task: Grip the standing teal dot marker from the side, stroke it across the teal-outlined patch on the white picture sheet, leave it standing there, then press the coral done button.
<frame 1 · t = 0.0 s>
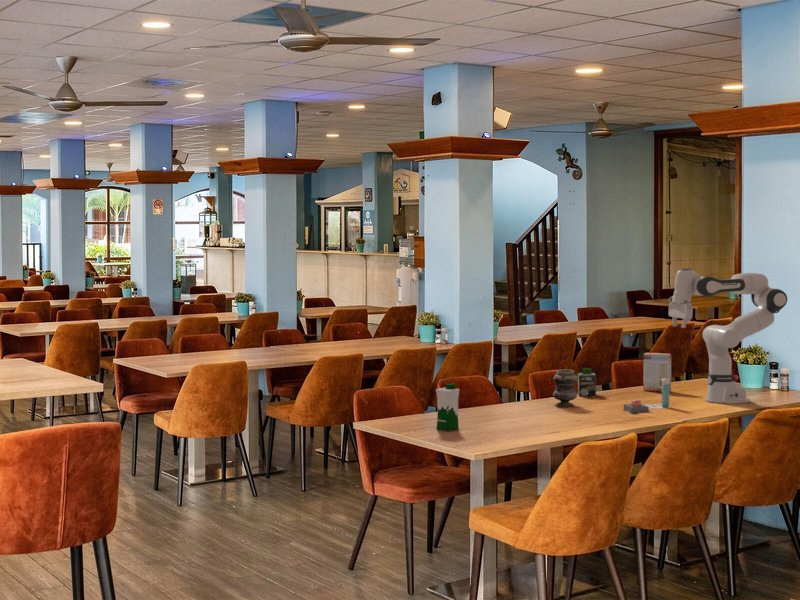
hand: (679, 327, 516), 39 cm above the table, tool pointing down, fingers open, 8 cm apart
picture board: (650, 407, 504), on the table
cracker box: (657, 391, 557), on the table
done button: (636, 404, 492), point 4 cm above the table, slide at 0.0 cm
button housing: (636, 411, 492), on the table
chalk box: (586, 395, 543), on the table
marker: (665, 407, 501), point 1 cm above the table, touching picture board
apothecary jar: (564, 406, 510), on the table
milk carton: (447, 429, 448), on the table
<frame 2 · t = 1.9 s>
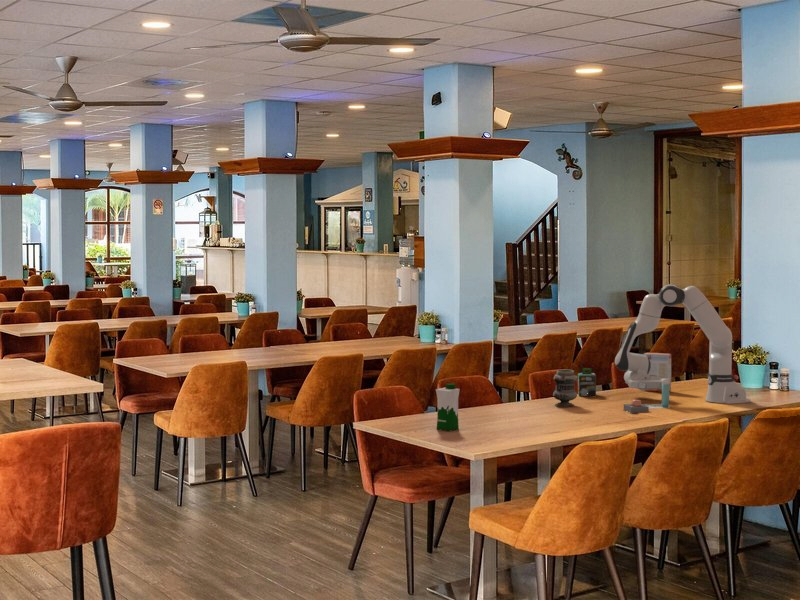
hand: (654, 386, 512), 9 cm above the table, tool horizontal, fingers open, 8 cm apart
nothing on the table moved.
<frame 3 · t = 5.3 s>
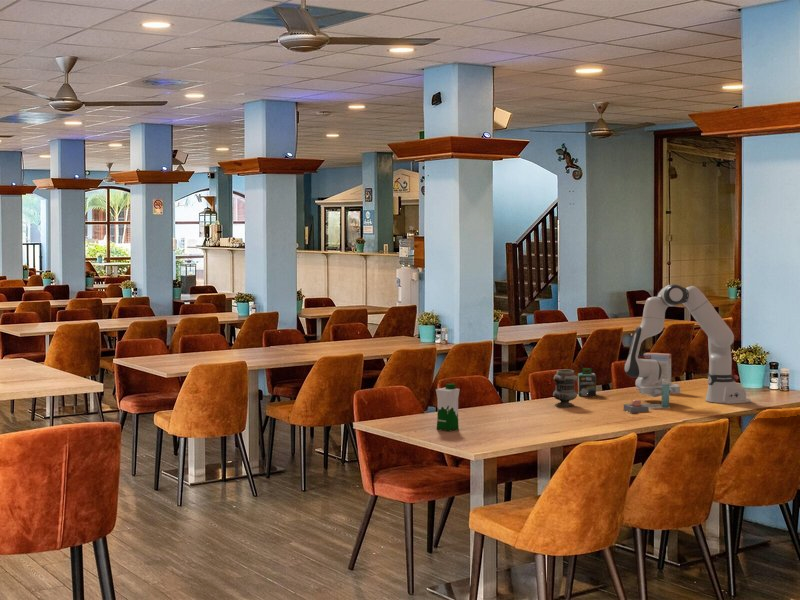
hand: (666, 391, 500), 8 cm above the table, tool horizontal, fingers closed on marker, 4 cm apart
marker: (665, 407, 501), point 1 cm above the table, touching gripper, picture board
everything else where it was.
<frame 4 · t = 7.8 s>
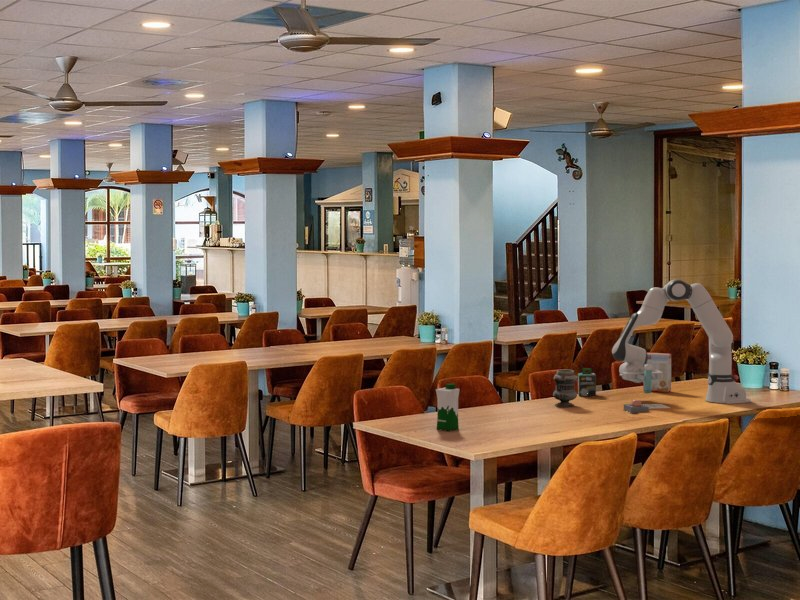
hand: (648, 377, 504), 15 cm above the table, tool horizontal, fingers closed on marker, 4 cm apart
marker: (647, 392, 505), point 7 cm above the table, touching gripper
everything else where it was.
when the fingers open (8 cm above the table, at t = 10.3 s): marker stays where it is, resting on picture board.
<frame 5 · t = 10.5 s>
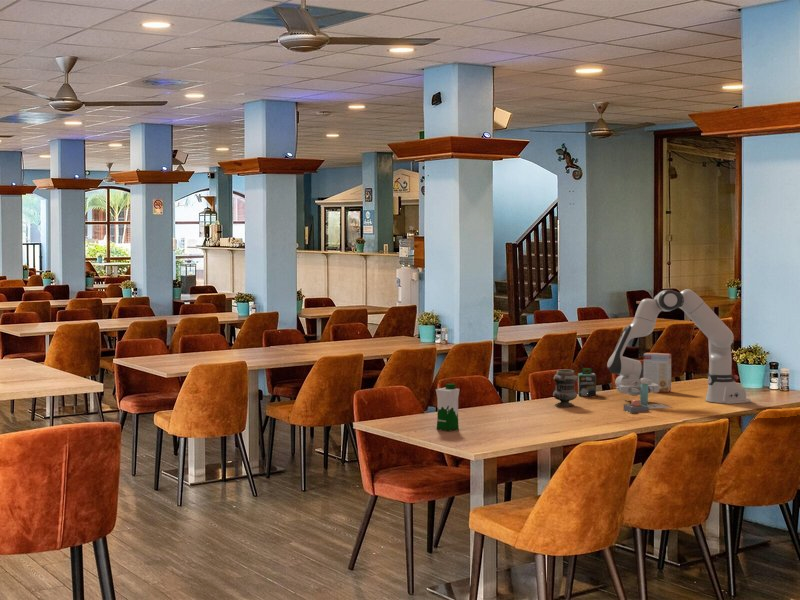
hand: (644, 390, 502), 8 cm above the table, tool horizontal, fingers open, 6 cm apart
marker: (643, 406, 503), point 1 cm above the table, touching picture board
everything else where it was.
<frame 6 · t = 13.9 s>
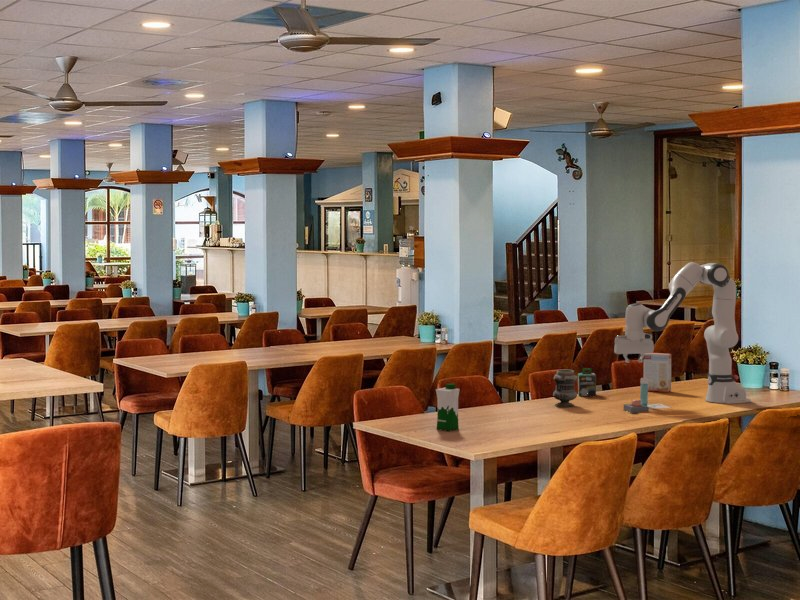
hand: (633, 362, 515), 21 cm above the table, tool pointing down, fingers open, 5 cm apart
nothing on the table moved.
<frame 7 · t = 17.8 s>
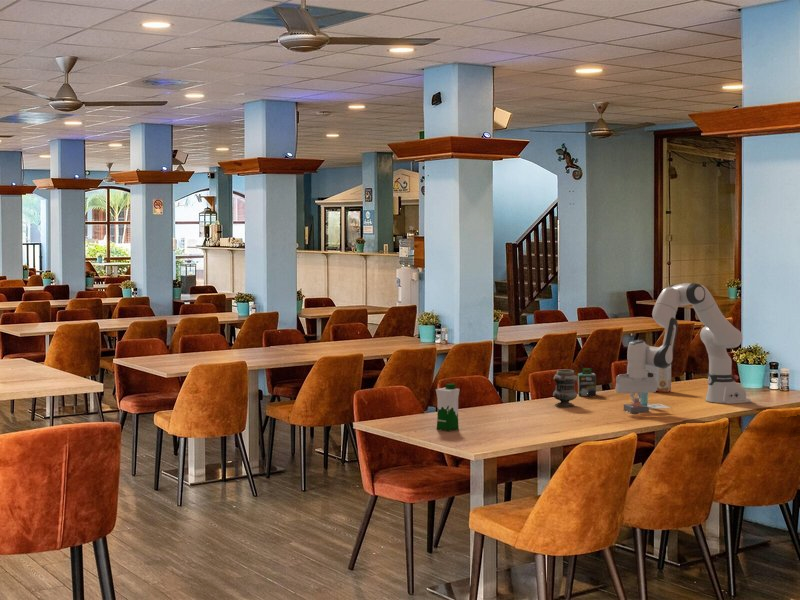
hand: (635, 401, 492), 5 cm above the table, tool pointing down, fingers closed, pressing on done button
done button: (636, 406, 492), point 3 cm above the table, slide at 0.8 cm, touching gripper
everything else where it was.
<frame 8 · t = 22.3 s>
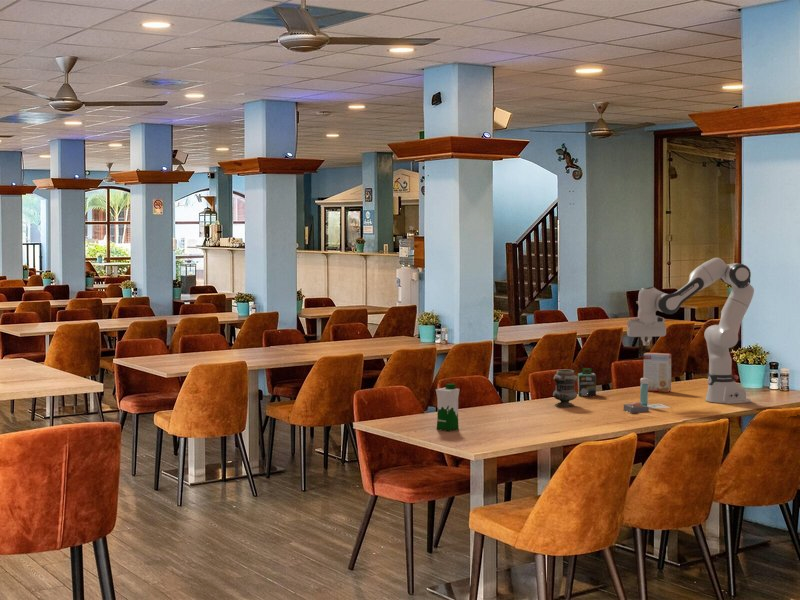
hand: (646, 345, 520), 29 cm above the table, tool pointing down, fingers closed
done button: (636, 406, 492), point 2 cm above the table, slide at 1.2 cm
everything else where it was.
at the end: marker inside the target area (1.8 cm from its centre), point 0.6 cm above the table; marker tilted 0°; done button slide at 1.2 cm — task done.
